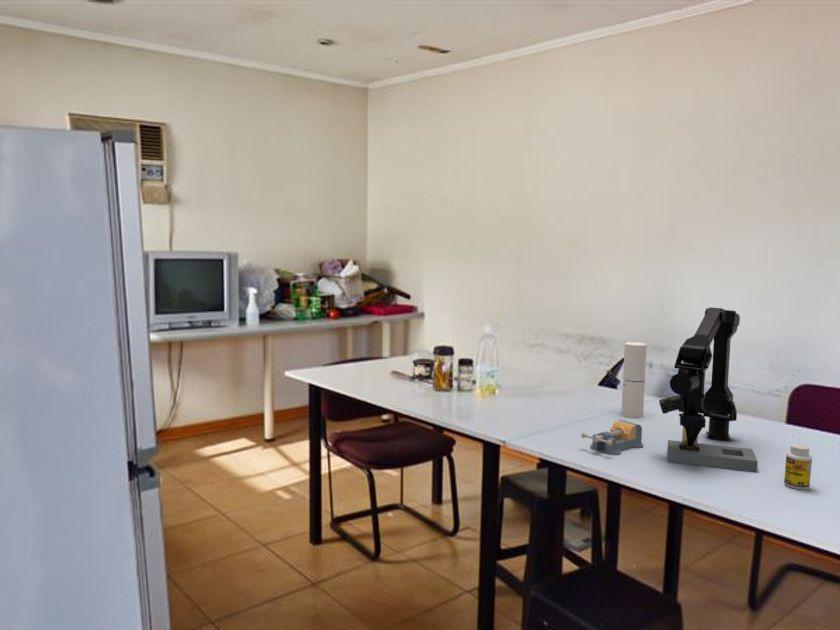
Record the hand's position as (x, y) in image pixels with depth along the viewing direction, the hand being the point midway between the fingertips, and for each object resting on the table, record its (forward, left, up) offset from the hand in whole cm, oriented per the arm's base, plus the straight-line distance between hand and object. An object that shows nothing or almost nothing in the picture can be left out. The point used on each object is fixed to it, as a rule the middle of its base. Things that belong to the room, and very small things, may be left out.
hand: (689, 443), depth 187 cm
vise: (-2, -20, -4) cm, 21 cm away
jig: (0, +5, -4) cm, 7 cm away
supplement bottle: (+13, +24, -4) cm, 28 cm away
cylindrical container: (-42, -17, -4) cm, 45 cm away
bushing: (0, 0, -2) cm, 2 cm away
